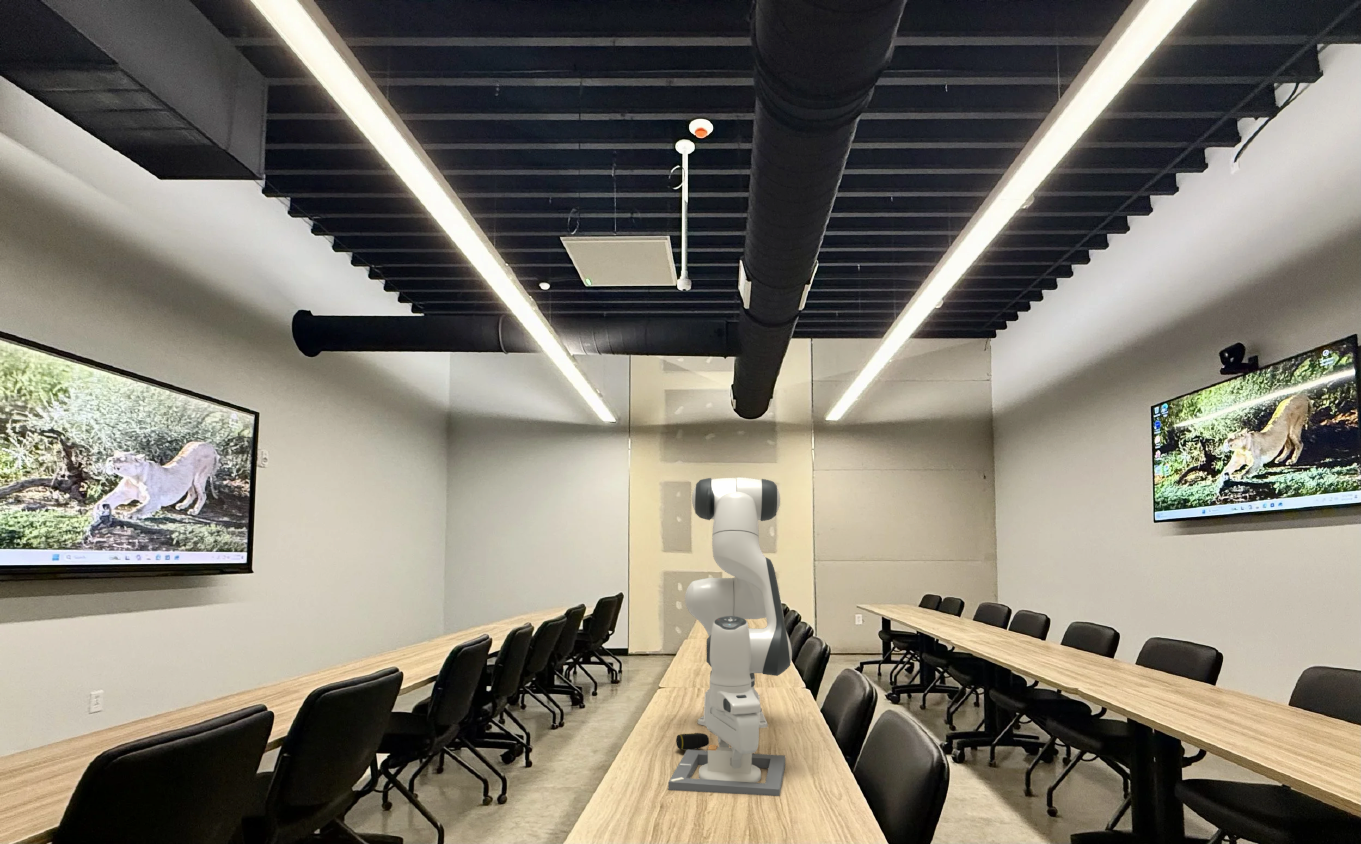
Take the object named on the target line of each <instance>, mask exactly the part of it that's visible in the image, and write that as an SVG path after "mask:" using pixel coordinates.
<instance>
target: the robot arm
mask: <svg viewBox="0 0 1361 844" xmlns="http://www.w3.org/2000/svg"><path fill="white" fill-rule="evenodd" d="M692 491H693V492H692V494H691V504H692V507H693V510H694V513H695V515H696V516H697V517H699V518H700V519H702V520H703V519H704V520H705V521H710V520H713V524H712V537H711V539H712V541H711V545H712V547H711V549H712V557H713V559H714V562H715V563H716V564H717V566H718V567H719V568H720V569H721V570H722V571H724V573H727V574H728V575H730V576H733V577H706V578H701V579H696V580H692V581H691V582H690V584H689V585H688V586H687V588H686V590H685V593H684V604H685V607H686V609H687V611H688V612H689V613H690V615H691V616H692V617H694V618H695V619H696V620H697V621H698V622H699V623H700V624H701V625H702V626H703V628H704V629H705V631H706V633H707V636H708V637H707V639H706V663H707V664H708V666H710V667H711V671H710V676H709V688H708V689H707V690H706V692H704V700H703V701H704V704H703V705H704V706H703V715H702V716H701V717H699V718H698V719H697V724H698V725H699V726H700V725H701V726H705V727H706V730H707V731H709V732H710V733H712V734H713V735H715V736H716V738H717V743H718V747H729V748H732V752H733V753H732V758H730V766H732V767H733V768H734V769H735V768H740V767H741V758H742V755H743V754H748V753H752V754H756V752H757V750H758V747H759V741H760V740H759V738H760V729H764V728H768V727H769V725H768V722H767V719H766V718H765V715H764V712H763V711H762V710H763V709H762V707H761V703H760V702H761V699H760V697H761V696H760V694H759V692H758V691H757V690H756V688H755V685H756V683H755V682H756V676H755V674H762V675H767V676H774V677H778V676H780V675H781V674H783V673H784V672H785V671H786V670H788V669H789V668H790V666H791V663H792V659H793V650H792V643H791V640H790V637H789V634H788V632H787V629H786V625H785V623H786V622H785V617H784V616H785V615H784V611H783V605H782V602H781V601H782V599H781V595H780V588H779V583H778V580H777V576H776V575H777V574H776V571H775V567H774V564H773V561H772V560H771V559H770V558H768V557H766V556H765V555H764V553H763V551H762V549H761V546H760V530H759V529H760V528H759V521H760V522H765V521H769V520H773V519H774V518H775V517H776V516H777V513H778V510H779V508H780V505H781V494H780V492H779V489H778V486H777V484H776V483H775V482H774V481H772V480H769V479H765V478H761V479H759V478H758V479H757V478H750V477H741V476H740V477H737V476H736V477H721V478H712V477H706V478H703V479H699V481H697V482H696V484H695V486H694V488H693V490H692ZM759 619H765V620H766V622H767V623H766V627H763V628H751V627H750V626H749V623H748V621H747V620H759ZM749 627H750V628H749Z"/></svg>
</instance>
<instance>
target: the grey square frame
mask: <svg viewBox="0 0 1361 844" xmlns="http://www.w3.org/2000/svg"><path fill="white" fill-rule="evenodd" d="M707 763H708V750H702V749H701V750H700V749H699V750H698V749H694V750H687V751H684V754H683V756H682V757H681V760H680V761H679V763H678V765H677V766H676V768H675V770H674V772H673V773H672V775H671V777H670V779H669V780H668V786H667V789H668V791H681V792H696V793H697V792H698V793H714V794H715V793H716V794H731V795H733V794H734V795H735V794H736V795H750V796H751V795H753V796H769V797H770V796H771V797H772V796H773V797H780V795H781V790H782V786H783V781H784V779H783V778H784V773H785V770H786V755H784V754H783V755H780V754H769V753H767V754H765V753H752V765H755V766H757V767H758V768H759V769H767V774H766V776H765V777H766V778H765V782H756V783H753V782H738V781H723V780H708V779H699V778H692V776H693V774H694V773H695V771H696V770H697V767H698V766H703V765H705V764H707Z"/></svg>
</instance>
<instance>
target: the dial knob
mask: <svg viewBox="0 0 1361 844" xmlns="http://www.w3.org/2000/svg"><path fill="white" fill-rule="evenodd" d="M707 751H708V763H707V764H705V765H700V767H699V769H698V779H708V780H723V781H738V782H753V783H759V782H760V781H761V779H762V772H761V768H758V767H757V766H755V765H752V754H753V753H748V754H743V755H742V758H741V767H740V768H735V769H734V768H733V767H732V766H730V758H732V753H733V752H732V747H730V746H729V747H719V744H718V745H717V744H710V745H709V746H708V748H707Z"/></svg>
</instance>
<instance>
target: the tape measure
mask: <svg viewBox="0 0 1361 844" xmlns="http://www.w3.org/2000/svg"><path fill="white" fill-rule="evenodd" d="M709 742H710V737H709V735H708V734H705V733H702V732H701V733H700V732H695V733H694V732H693V733H692V732H691V733H681V734H677V735H676V738H675V744H676V747H677V749H679V750H683V751H684V752H686V751H687V750H700V749H701V748H705V747H706V746H708V745H709Z"/></svg>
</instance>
